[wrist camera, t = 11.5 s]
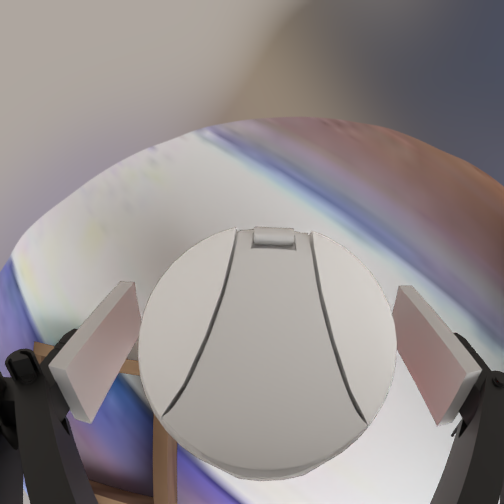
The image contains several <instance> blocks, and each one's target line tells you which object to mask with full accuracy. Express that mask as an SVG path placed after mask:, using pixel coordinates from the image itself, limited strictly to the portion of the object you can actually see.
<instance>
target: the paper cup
mask: <svg viewBox="0 0 504 504" xmlns="http://www.w3.org/2000/svg"><path fill="white" fill-rule="evenodd" d="M396 351H397V340H396V332H395V324H394V320H393V317H392V313H391V310H390V306H389V304H388V302H387V299H386V297H385V295H384V293H383V291H382V289H381V287H380V286H379V284H378V283H377V281H376V280H375V278H374V277H373V275H372V274H371V272H370V271H369V270H368V269H367V268H366V267H365V266H364V264H363V263H362V262H361V261H360V260H359V259H358V258H357V257H356V256H354V255H353V254H352V253H351V252H350V251H348V250H347V249H346V248H345V247H343V246H342V245H340V244H338V243H337V242H335V241H333V240H332V239H330V238H328V237H326V236H324V235H321V234H319V233H317V232H314V231H311V233H310V235H308V233H300V232H296V231H294V229H291V228H271V227H255V228H254V229H251V230H240V231H238V232H237V229H236V227H235V228H231V229H228V230H225V231H222V232H219V233H217V234H215V235H213V236H210V237H208V238H206V239H204V240H202V241H201V242H199V243H198V244H196V245H195V246H193V247H192V248H190V249H189V250H187V251H186V252H185V253H184V254H183V255H181V256H180V257H179V258H178V259H177V260H176V261H175V262H174V263H173V264H172V265H171V266H170V267H169V268H168V270H167V271H166V272H165V273H164V275H163V276H162V277H161V278H160V280H159V282H158V283H157V285H156V287H155V288H154V290H153V292H152V293H151V295H150V298H149V300H148V303H147V305H146V308H145V310H144V313H143V317H142V322H141V326H140V331H139V344H138V362H139V371H140V378H141V381H142V385H143V388H144V392H145V395H146V398H147V400H148V402H149V404H150V406H151V408H152V410H153V412H154V414H155V416H156V417H157V419H158V420H159V421H160V423H161V424H162V426H163V427H164V429H165V430H166V431H167V432H168V433H169V434H170V435H171V436H172V437H173V438H174V439H175V440H176V441H177V442H178V443H179V444H180V445H181V446H182V447H183V448H184V449H186V450H187V451H189V452H190V453H191V454H193V455H194V456H196V457H197V458H199V459H200V460H202V461H204V462H207V463H209V464H211V465H213V466H215V467H217V468H219V469H221V470H223V471H225V472H227V473H229V474H231V475H233V476H235V477H237V478H240V479H248V480H256V481H271V480H284V479H289V478H294V477H298V476H303V475H305V474H307V473H308V472H310V471H312V470H314V469H315V468H317V467H319V466H320V465H322V464H323V463H325V462H327V461H329V460H330V459H332V458H334V457H335V456H337V455H339V454H340V453H342V452H343V451H344V450H345V449H347V448H348V447H349V446H350V445H351V444H353V443H354V442H355V441H356V440H357V439H358V438H359V437H360V436H361V435H362V434H363V432H364V431H365V430H366V429H367V428H368V426H369V425H370V424H371V423H372V421H373V420H374V418H375V417H376V415H377V413H378V412H379V410H380V408H381V407H382V405H383V403H384V401H385V399H386V396H387V394H388V391H389V389H390V386H391V383H392V380H393V375H394V370H395V365H396Z"/></svg>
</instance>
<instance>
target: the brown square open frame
mask: <svg viewBox="0 0 504 504" xmlns="http://www.w3.org/2000/svg"><path fill="white" fill-rule="evenodd" d="M52 349H54V346H52V345H47V344H43V343H39V342H35V341H34V349H33V352H34V353H35V356H36V358H37V360H38V362H39V364H40V363H41V362H42V361H43V360H44V358H45V357H46V356H47V355H48V354H49V352H50V351H51V350H52ZM119 372H120V373H126V374H132V375H139V376H140V371H139V362H138V361H136V360H128V359H126V360H125V362H124V364H123V365H122V367H121V369H120V371H119ZM88 480H89V479H88ZM89 483H90V485H91V488H92V490H93V492H94V495H95V497H96V499H97V501H98V504H177V441H176V440H175V439H174V438H173V437H172V436H171V435H170V434H169V433H168V432H167V431H166V430H165V429H164V427H163V426H162V424H161V423H160V421H159V420H158V419H157V417H156V416H155V414H154V418H153V496H154V497H150V496H145V495H141V494H137V493H133V492H129V491H125V490H121V489H118V488H114V487H111V486H107V485H104V484H101V483H98V482H95V481H92V480H89Z"/></svg>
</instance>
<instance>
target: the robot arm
mask: <svg viewBox="0 0 504 504" xmlns="http://www.w3.org/2000/svg"><path fill="white" fill-rule="evenodd" d="M392 317H393V320H394V324H395V332H396V340H397V350H398V352H399V354H400V356H401V357H402V359H403V361H404V363H405V365H406V366H407V368H408V370H409V372H410V374H411V376H412V378H413V379H414V381H415V383H416V385H417V387H418V389H419V391H420V393H421V395H422V397H423V399H424V401H425V403H426V405H427V407H428V409H429V411H430V413H431V415H432V417H433V419H434V421H435V423H436V425H437V426H441V425H444V424H448V423H451V422H453V420H454V419H455V417H456V416H457V414H458V412H459V413H460V414H461V416H462V419H461V421H460V422H459V424H458V425H457V427H456V428H455V430H454V431H453V433H452V435H451V436H452V437H453V436H454V434H455V433H456V435H455V439H454V442H453V445H452V448H451V451H450V454H449V457H448V460H447V463H446V466H445V469H444V471H443V474H442V477H441V479H440V482H439V484H438V487H437V489H436V491H435V494H434V496H433V498H432V501H431V503H430V504H498V501H499V497H500V504H504V373H502V372H500V371H491V370H490V369H489V367H488V366H487V365H486V364H485V362H484V361H483V360H482V359H481V357H480V356H479V355H478V354H477V353H476V351H475V350H474V349H473V347H471V345H470V344H469V343H468V341H467V340H466V339H465V338H463V337H462V336H461V335H459V334H458V333H453V332H452V331H451V330H450V329H449V327H448V326H447V325H446V324H445V323H444V322H443V320H442V319H441V318H440V317H439V316H438V315H437V313H436V312H435V311H434V310H433V309H432V308H431V307H430V305H429V304H428V303H427V302H426V301H425V300H424V299H423V298H422V296H421V295H420V294H419V293H418V292H417V291H416V290H415V289H414V288H413V286H399V287H398V292H397V296H396V301H395V305H394V309H393V313H392ZM140 326H141V317H140V312H139V307H138V301H137V296H136V290H135V284H134V282H122V281H120V283H119V284H118V285H117V286H116V287H115V288H114V289H113V290H112V291H111V292H110V293H109V295H108V296H107V297H106V298H105V299H104V300H103V301H102V302H101V303H100V305H99V306H98V307H97V308H96V309H95V310H94V311H93V313H92V314H91V315H90V316H89V317H88V318H87V319H86V321H85V322H84V323H83V324H82V325H81V326H80V328H79V329H73V330H71V331H70V332H68V333H66V334H65V335H64V336H63V337H62V338H61V339H60V341H59V343H57V344H56V345H55V346H54V349H52V350H51V351H50V352H49V354H48V355H47V356H46V357H45V358H44V360H43V361H42V362H41V363H40V364H39V362H38V360H37V358H36V356H35V353H34V352H33V351H32V350H30V349H20V350H17V351H15V352H13V353H12V354H10V355H9V356H8V357H7V359H6V361H5V365H6V367H7V369H8V371H9V373H10V375H11V377H12V378H11V377H3V376H2V374H1V372H0V504H23V473H24V478H25V483H26V487H27V492H28V496H29V500H30V504H98V501H97V499H96V497H95V495H94V492H93V490H92V488H91V485H90V483H89V480H88V478H87V475H86V472H85V470H84V467H83V464H82V462H81V459H80V456H79V453H78V450H77V447H76V444H75V441H74V437H73V434H72V431H71V427H70V424H69V421H68V419H67V417H66V414H67V413H68V411H69V409H70V411H71V412H72V414H73V416H74V418H75V419H77V420H80V421H84V422H87V423H92V421H93V420H94V418H95V416H96V414H97V412H98V410H99V408H100V406H101V404H102V402H103V400H104V398H105V397H106V395H107V393H108V391H109V389H110V387H111V385H112V384H113V382H114V380H115V378H116V376H117V374H118V373H119V371H120V369H121V367H122V365H123V364H124V362H125V360H126V358H127V356H128V355H129V353H130V351H131V349H132V348H133V346H134V344H135V342H136V341H137V339H138V337H139V331H140Z"/></svg>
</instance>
